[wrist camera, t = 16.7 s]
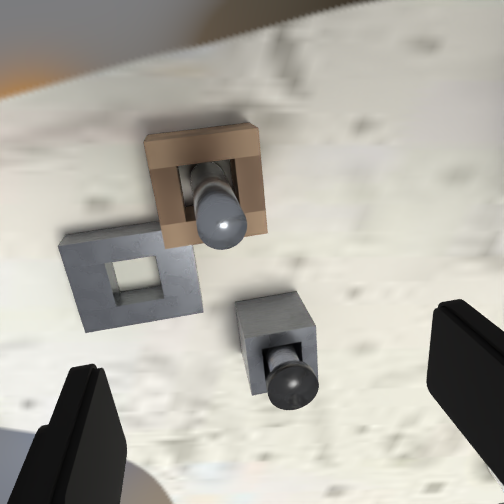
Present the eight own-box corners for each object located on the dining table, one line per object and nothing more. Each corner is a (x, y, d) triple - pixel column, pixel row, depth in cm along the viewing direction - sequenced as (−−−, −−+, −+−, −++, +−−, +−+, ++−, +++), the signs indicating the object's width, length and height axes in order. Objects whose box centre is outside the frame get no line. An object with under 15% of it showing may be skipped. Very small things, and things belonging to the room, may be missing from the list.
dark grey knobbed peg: (288, 304, 39) (317, 364, 31) (290, 338, 40) (319, 404, 32) (247, 311, 38) (266, 374, 30) (251, 346, 40) (270, 414, 32)
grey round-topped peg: (222, 159, 33) (244, 198, 22) (226, 192, 34) (249, 245, 23) (187, 163, 33) (193, 205, 22) (193, 197, 34) (201, 253, 23)
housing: (296, 291, 39) (315, 325, 34) (299, 342, 41) (318, 382, 36) (235, 302, 38) (244, 338, 33) (241, 353, 41) (251, 395, 35)
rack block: (249, 122, 32) (258, 127, 29) (258, 217, 35) (267, 233, 32) (147, 135, 31) (143, 142, 28) (166, 231, 35) (165, 249, 31)
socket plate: (188, 216, 34) (188, 226, 32) (201, 298, 38) (203, 312, 35) (66, 234, 33) (57, 246, 31) (91, 317, 36) (85, 332, 34)
